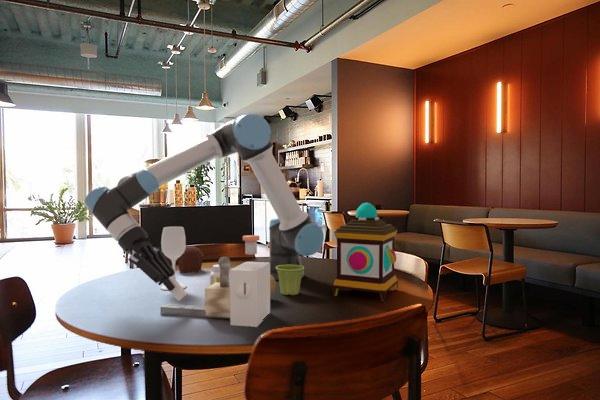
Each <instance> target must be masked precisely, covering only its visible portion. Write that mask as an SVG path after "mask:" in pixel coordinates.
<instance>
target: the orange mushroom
mask: <svg viewBox="0 0 600 400" xmlns="http://www.w3.org/2000/svg"><path fill="white" fill-rule="evenodd" d="M242 241H244V242H245V243H244V245H245V247H244V249H245V250H244V251H245V253H244V254H245V255H257V253H258V250H257V249H258V241H260V235H258V234H257V235H254V234H252V235H251V234H250V235H249V234H248V235H246V234H245V235H242Z"/></svg>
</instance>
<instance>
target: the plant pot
mask: <svg viewBox="0 0 600 400" xmlns="http://www.w3.org/2000/svg"><path fill="white" fill-rule="evenodd" d="M276 269H277V273H278V276H279V280H278V282H279V289H280V290H279V291H280V295H284V296H288V295H290V296H296V295H299V293H300V289H301V284H302V283H301V282H302V278H301V276H302V273H303V270H305V266H304V265H302V266H300V265H279V266H276Z"/></svg>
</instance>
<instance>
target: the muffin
mask: <svg viewBox="0 0 600 400" xmlns="http://www.w3.org/2000/svg"><path fill="white" fill-rule="evenodd" d="M204 255H205V254H204V253H203V251H202V250H201V249H200V248H199V247H196V246H193V245H189V246H186V248H185V251H184V253H183V254H182V255H181V256H180V257H179V258H177V264H178V270H179V272H180V273H183V274H186V273H187V274H189V273H190V274H192V273H197V272H200V271H202V265H203V264H202V263H203V257H204Z"/></svg>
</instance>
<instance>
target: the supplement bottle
mask: <svg viewBox="0 0 600 400" xmlns="http://www.w3.org/2000/svg"><path fill="white" fill-rule="evenodd" d="M209 276H210V282H209V283H210V285H212V284H214V283H216V282H217V283H220V266H219V264H218V263H217V264H213V265H212V272H210V275H209ZM210 285H209V286H210Z"/></svg>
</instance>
